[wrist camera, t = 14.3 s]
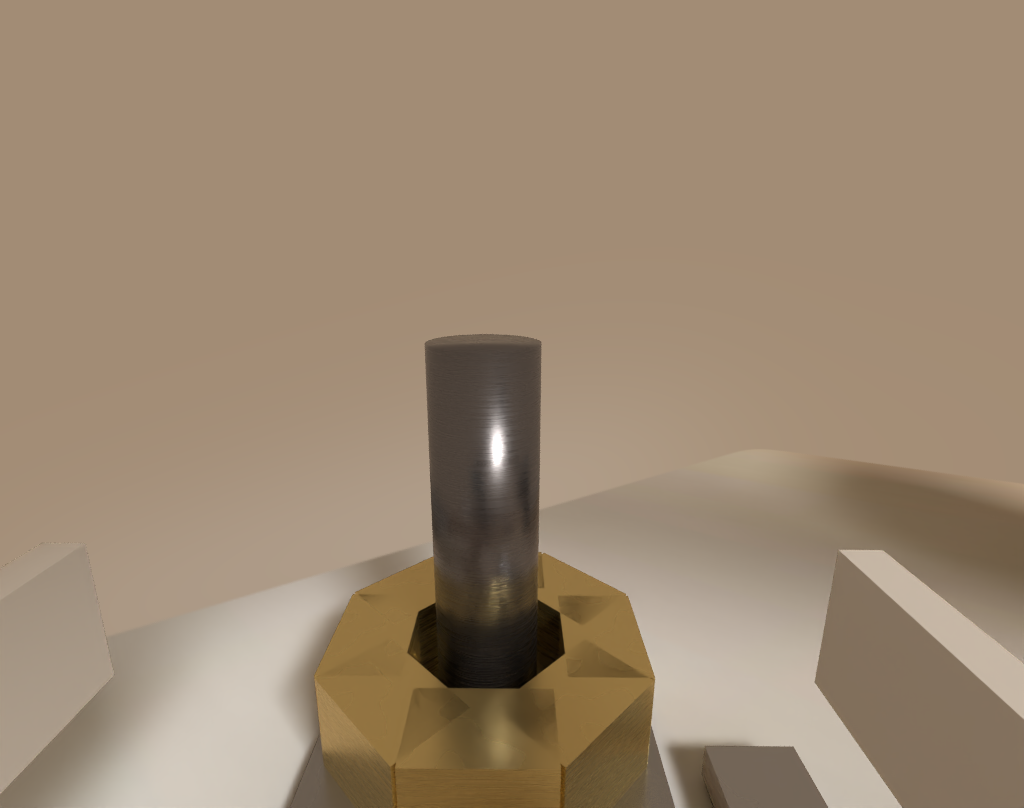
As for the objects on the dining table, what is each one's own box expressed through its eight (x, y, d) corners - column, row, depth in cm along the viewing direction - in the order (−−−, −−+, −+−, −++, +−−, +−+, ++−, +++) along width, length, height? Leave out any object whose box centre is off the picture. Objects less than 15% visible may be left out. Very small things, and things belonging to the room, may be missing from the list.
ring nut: (617, 622, 27) (622, 547, 26) (696, 904, 15) (711, 788, 14) (370, 621, 27) (365, 545, 26) (260, 901, 15) (242, 784, 14)
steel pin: (534, 676, 22) (538, 334, 19) (538, 753, 19) (544, 352, 15) (446, 675, 22) (433, 334, 19) (433, 752, 19) (415, 352, 15)
